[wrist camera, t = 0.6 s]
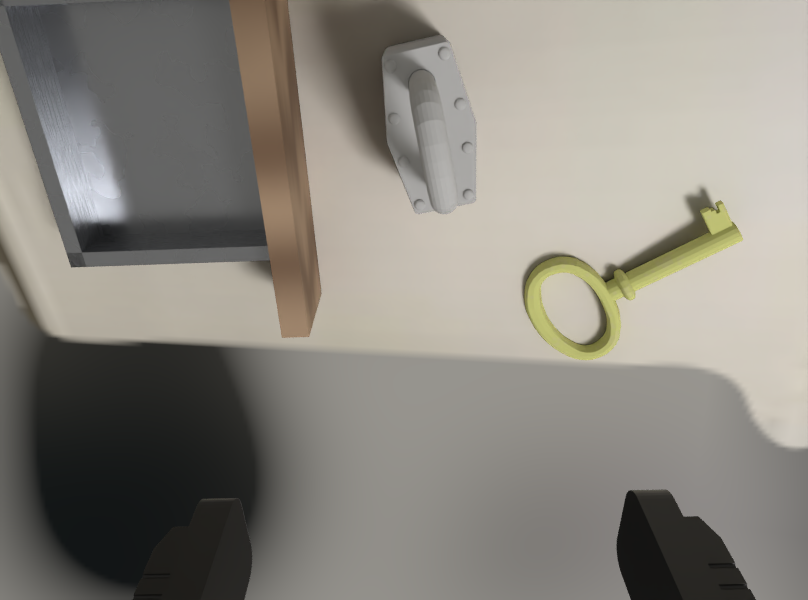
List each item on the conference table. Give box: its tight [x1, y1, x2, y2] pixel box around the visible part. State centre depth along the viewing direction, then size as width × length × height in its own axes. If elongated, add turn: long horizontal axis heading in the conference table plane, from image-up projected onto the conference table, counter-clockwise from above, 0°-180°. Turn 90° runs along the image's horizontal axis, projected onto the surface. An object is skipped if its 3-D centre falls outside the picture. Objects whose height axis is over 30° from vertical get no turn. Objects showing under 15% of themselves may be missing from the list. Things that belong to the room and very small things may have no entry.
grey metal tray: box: [0, 0, 270, 267], centre depth 29 cm, size 13×11×3 cm
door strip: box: [229, 0, 321, 338], centre depth 28 cm, size 20×1×5 cm, turn 2°
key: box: [524, 201, 743, 360], centre depth 33 cm, size 7×12×2 cm, turn 142°
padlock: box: [382, 35, 476, 214], centre depth 26 cm, size 7×4×10 cm, turn 12°
